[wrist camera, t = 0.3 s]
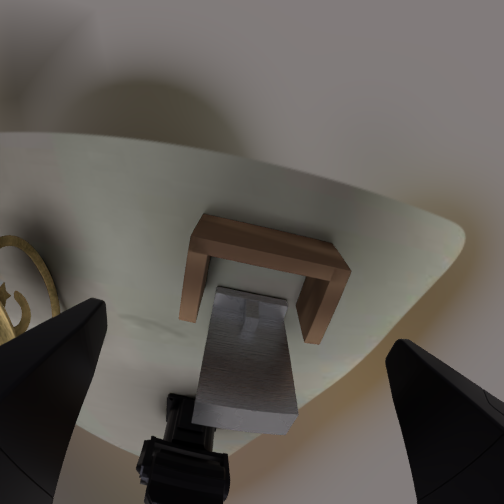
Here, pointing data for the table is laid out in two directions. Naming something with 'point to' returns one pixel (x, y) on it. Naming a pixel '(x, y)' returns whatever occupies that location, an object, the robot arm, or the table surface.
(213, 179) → the table surface
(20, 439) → the robot arm
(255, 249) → the walnut u-shaped bracket
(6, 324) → the wall sconce
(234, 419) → the angle bracket
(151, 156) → the table surface
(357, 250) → the table surface
